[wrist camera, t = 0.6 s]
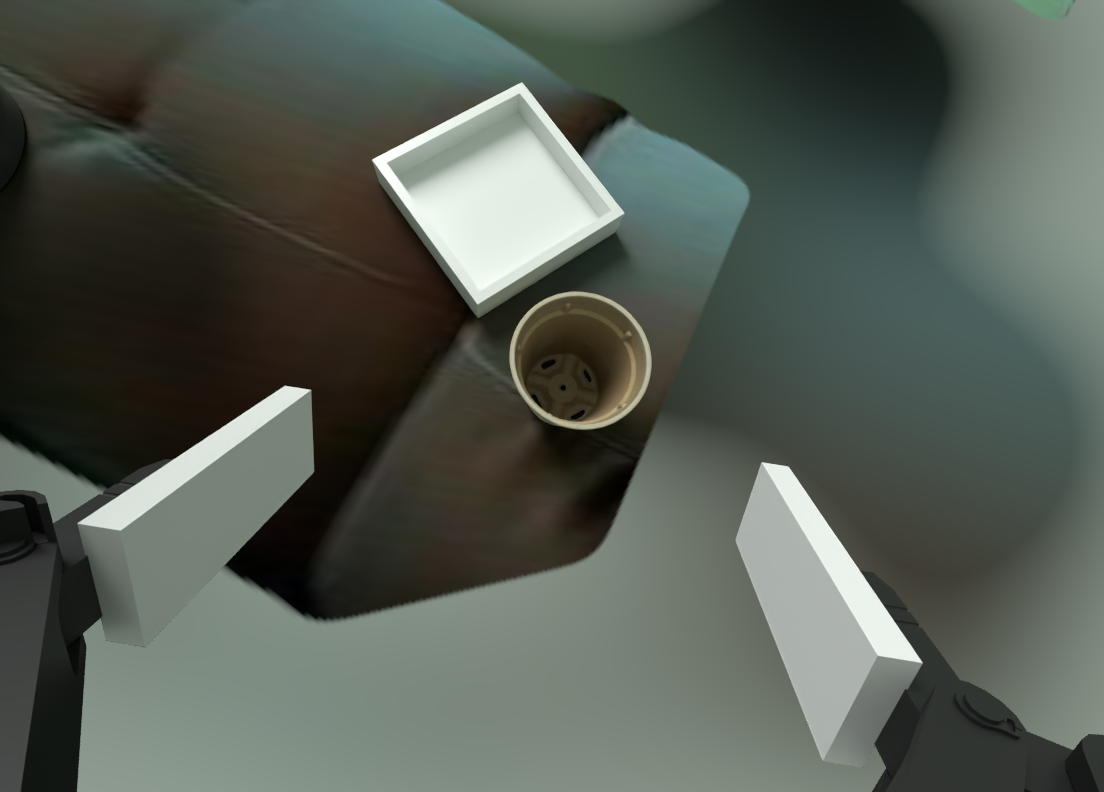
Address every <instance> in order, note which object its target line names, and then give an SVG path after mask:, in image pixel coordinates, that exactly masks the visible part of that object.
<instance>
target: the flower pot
mask: <svg viewBox="0 0 1104 792" xmlns="http://www.w3.org/2000/svg"><path fill="white" fill-rule="evenodd" d="M550 360H555V362H556V363H555V364H554V365H551V366H549V367H547V368H546V369H543V368H542V364H543V363H544V362H547V361H550ZM651 366H652V363H651V352H650V348H649V344H648V341H647V339H646V336H645V334H644V332H643V330H642V328H641V326H640V325H639V324H638V323H637V321H636V320H635V319H634V318H633V317H632V316H631V314H630V313H628V312H627V311H626V310H625V309H624V308H623V307H621V306H620V305H618V304H617V303H615V302H614V301H612V300H610V299H608V298H605V297H603V296H600V295H597V294H592V293H587V292H566V293H561V294H557V295H554V296H551V297H549V298H547V299H544V300H543V301H541V302H539V303H538V304H536V305H535V306H534V307H533V308H531V309H530V310H529V311H528V312H527V313H526V315H525V316H524V317H523V318H522V320H521V321H520V322H519V324H518V326H517V328H516V330H515V332H514V335H513V338H512V341H511V346H510V368H511V373H512V377H513V380H514V382H515V385H516V387H517V389H518V391H519V393H520V395H521V396H522V397H523V399H524V400H525V402H526V403H527V404H528V405H529V407H530V408H531V410H532V411H533V412H534V414H535V415H536V416H538V417H539V418H540V419H541V420H543V421H545V422H547V423H549V424H551V425H555V426H561V427H565V428H570V429H577V430H589V429H597V428H601V427H605V426H608V425H610V424H613V423H615V422H616V421H618V420H620V419H622V418H623V417H624V416H626V415H627V414H628V413H629V412H630V411H632V410H633V409H634V407H635V406H636V405H637V404H638V403H639V401H640V400H641V398H642V397H643V395H644V393H645V391H646V389H647V386H648V383H649V379H650V375H651ZM584 370H586V372H587V373H588V374H589V376H590V378H591V382H588V380H587V378H585V375H584V373H583V372H584ZM562 385H564V386H565V387H566V389H565V390H561V386H562ZM533 394H534V395H536V396H537V399H538V401H539V403H540V404H541V406H542V408H540V407H539V406H538V405H537V404H536V403H535V402H534V400H533V399H532V398H531V396H532V395H533ZM581 410H584V411H585V413H584V415H583V416H582V417H580V418H578V419H576V420H572V419H571V416H572V415H574V414H576V413H578V412H580V411H581Z"/></svg>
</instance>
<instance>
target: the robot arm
mask: <svg viewBox="0 0 1104 792" xmlns="http://www.w3.org/2000/svg"><path fill="white" fill-rule="evenodd" d="M24 141H25V129H24V122H23V118H22V115H21V112H20V110H19V108H18V106H17V104H16V102H15V101H14V99H13V98H12V96H11V95H10V94H9V93H8V92H7V90H6V89H5V88H4V87H2V86H1V85H0V190H1V189H2V188H3V187H4V186H5V184H6V183H7V182H8V181H9V179H10V178H11V176H12V175H13V173H14V171H15V170H16V168H17V166H18V163H19V161H20V159H21V156H22V152H23V148H24ZM313 472H314V456H313V430H312V403H311V390H308V389H302V388H295V387H289V386H284V387H283V388H281V389H280V390H278V391H276V392H275V393H273V394H272V395H270V396H269V397H267V398H266V399H264V400H263V401H261V402H260V403H258V404H257V405H255V406H254V407H252V408H251V409H249V410H248V411H246V412H245V413H243V414H242V415H240V416H239V417H237V418H236V419H234V420H233V421H231V422H230V423H228V424H227V425H225V426H224V427H222V428H221V429H219V430H218V431H216V432H215V433H213V434H212V435H210V436H209V437H207V438H206V439H204V440H203V441H201V442H200V443H198V444H196V445H195V446H193V447H192V448H190V449H189V450H187V451H186V452H184V453H183V454H181V455H180V456H178V457H177V458H175V459H174V460H170V459H164V460H162V461H159V462H156V463H154V464H151V465H148V466H146V467H143V468H140V469H139V470H137V471H135V472H134V473H132V474H131V475H129V476H128V477H126V478H124V479H123V480H121V481H120V483H119V484H115V485H113V486H112V487H110V488H109V489H107V490H105V491H104V492H103V494H102V495H100V494H99V495H97V496H96V497H94V498H93V499H91V500H90V501H88V502H87V503H85V504H83V505H82V506H80V507H79V508H77V509H75V510H74V511H72V512H71V513H69V514H67V515H66V516H65V517H63V518H61V519H60V520H58V521H56V522H55V523H53V522H52V518H51V514H50V510H49V507H48V503H47V500H46V497H45V496H44V495H42V494H40V493H38V492H35V491H25V490H15V491H4V492H0V792H77V781H78V765H79V750H80V735H81V719H82V705H83V690H84V689H83V688H84V675H85V659H86V644H85V640H84V636H83V633H84V632H85V631H86V630H87V629H88V628H90V627H91V626H92V625H93V624H94V623H95V622H96V621H97V620H99V618H101V621H102V625H103V629H104V633H105V637H106V641H111V642H117V643H122V644H129V645H134V646H141V647H146V646H147V645H148V644H149V643H150V642H151V641H152V640H153V639H154V638H155V637H156V636H157V635H158V634H159V632H161V630H162V629H163V628H164V627H165V626H166V625H167V624H168V623H169V622H170V621H171V620H172V619H173V618H174V617H175V616H176V615H177V614H178V613H179V612H180V611H181V610H182V609H183V608H184V606H186V604H187V603H188V602H189V601H190V600H191V599H192V598H193V597H194V596H195V595H196V594H197V593H198V592H199V591H200V590H201V589H202V588H203V587H204V586H205V585H206V584H207V583H208V582H209V581H210V580H211V578H212V577H213V576H214V575H215V574H216V573H217V572H218V571H219V570H220V569H221V568H222V567H223V566H224V565H225V564H226V563H227V562H228V561H229V560H230V559H231V558H232V557H233V556H234V555H235V554H236V553H237V551H238V550H239V549H240V548H241V547H242V546H243V545H244V544H245V543H246V542H247V541H248V540H249V539H250V538H251V537H252V536H253V535H254V534H255V533H256V532H257V531H258V530H259V529H260V528H261V527H262V525H263V524H264V523H265V522H266V521H267V520H268V519H269V518H270V517H271V516H272V515H273V514H274V513H275V512H276V511H277V510H278V509H279V508H280V507H281V506H282V505H283V504H284V503H285V502H286V501H287V499H288V498H289V497H290V496H291V495H292V494H293V493H294V492H295V491H296V490H297V489H298V488H299V487H300V486H301V485H302V484H303V483H304V482H305V481H306V480H307V479H308V478H309V477H310V476H311V475H312V474H313ZM736 543H737V546H738V548H739V551H740V553H741V556H742V558H743V561H744V563H745V566H746V569H747V571H748V574H749V576H750V579H751V581H752V584H753V586H754V588H755V591H756V594H757V596H758V599H759V601H760V604H761V606H762V609H763V611H764V614H765V617H766V619H767V622H768V624H769V626H770V629H771V632H772V634H773V637H774V639H775V642H776V644H777V647H778V649H779V652H780V654H781V657H782V659H783V662H784V664H785V667H786V670H787V672H788V675H789V677H790V680H791V682H792V685H793V687H794V690H795V692H796V695H797V697H798V700H799V702H800V705H801V707H802V710H803V712H804V715H805V717H806V720H807V723H808V725H809V728H810V730H811V733H812V735H813V738H814V740H815V743H816V745H817V748H818V750H819V753H820V755H821V758H822V760H823V761H825V762H832V763H837V764H843V765H849V766H855V767H861V768H863V767H864V765H865V764H866V762H867V760H868V758H869V756H870V755H871V753H872V751H873V749H874V748H875V746H876V748H877V750H878V752H879V754H880V756H881V758H882V760H883V762H884V764H885V766H886V769H885V771H884V773H883V774H882V776H881V778H880V779H879V781H878V783H877V784H876V786H875V788H874V789H873V791H872V792H1104V735H1094V734H1088V735H1087V736H1086V737H1085V738H1083V739H1082V740H1081V741H1080V743H1079V744H1078V745H1077V746H1076V748H1075V749H1074V750H1071V749H1069V748H1066V747H1064V746H1061V745H1059V744H1056V743H1054V742H1051V741H1049V740H1046V739H1044V738H1042V737H1039V736H1037V735H1034V734H1031V733H1029V732H1027V731H1026V729H1025V728H1024V727H1023V725H1022V724H1021V722H1020V721H1019V719H1018V718H1017V716H1016V715H1015V714H1014V713H1013V712H1012V711H1011V710H1009V708H1007V707H1006V706H1005V705H1004V704H1003V703H1002V702H1001V701H1000V700H998V699H997V698H995V697H994V696H992V695H991V694H989V693H988V692H987V691H985V690H983V689H981V688H979V687H977V686H975V685H973V684H971V683H969V682H965V681H961V680H960V679H959V678H958V677H957V675H956V674H955V672H954V671H953V670H952V668H951V667H950V666H949V664H948V663H947V662H946V660H945V659H944V657H943V656H942V655H941V653H940V652H939V651H938V649H937V648H936V647H935V645H934V644H933V642H932V641H931V640H930V639H929V637H928V636H927V634H926V633H925V632H924V630H923V629H922V628H920V627H919V624H918V622H917V621H916V619H915V618H914V617H913V616H912V614H911V613H910V612H908V611H907V607H906V606H905V604H904V603H903V602H902V600H901V599H900V598H899V596H898V595H897V594H896V592H895V591H894V590H893V589H892V588H891V587H890V586H888V585H887V584H886V583H885V582H884V581H882V580H881V579H880V578H879V577H878V576H876V575H875V574H874V573H872V572H865V571H860V570H859V569H858V568H857V566H856V565H855V563H854V562H853V560H852V559H851V558H850V556H849V555H848V553H847V552H846V550H845V549H844V547H843V546H842V544H841V543H840V541H839V540H838V538H837V537H836V536H835V534H834V533H833V531H832V530H831V528H830V527H829V525H828V524H827V522H826V521H825V519H824V518H823V517H822V515H821V514H820V512H819V511H818V509H817V508H816V506H815V505H814V503H813V502H812V500H811V499H810V497H809V496H808V495H807V493H806V492H805V490H804V489H803V487H802V486H801V485H800V483H799V482H798V480H797V478H796V477H795V476H794V474H793V473H792V471H791V470H790V468H789V467H787V466H781V465H775V464H768V463H762V464H761V467H760V469H759V472H758V475H757V478H756V481H755V484H754V487H753V490H752V493H751V496H750V499H749V502H748V505H747V508H746V511H745V514H744V517H743V519H742V522H741V525H740V528H739V531H738V534H737V537H736Z"/></svg>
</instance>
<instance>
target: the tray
mask: <svg viewBox="0 0 1104 792" xmlns="http://www.w3.org/2000/svg"><path fill="white" fill-rule="evenodd" d="M372 161H373V164H374V167H375V170H376V174H377V177H378V180H379V183H380V184H381V186H382V187H383V188H384V190H385V191H386V193H387V194H388V195H389V197H390V198H391V199H392V201H393V202H394V204H395V205H396V206H397V208H398V209H399V210H400V212H401V213H402V215H403V216H404V217H405V219H406V220H407V221H408V223H409V224H410V226H411V227H412V228H413V230H414V231H415V232H416V234H417V235H418V237H419V238H420V239H421V241H422V242H423V243H424V245H425V246H426V248H427V249H428V250H429V252H430V253H431V255H432V256H433V257H434V259H435V260H436V261H437V263H438V264H439V266H440V267H441V268H442V270H443V271H444V272H445V274H446V275H447V277H448V278H449V279H450V281H451V282H452V283H453V285H454V286H455V288H456V289H457V290H458V292H459V293H460V294H461V296H462V297H463V299H464V300H465V301H466V303H467V304H468V305H469V307H470V308H471V310H472V311H473V312H474V314H475V315H476V317H477V318H480V317H481V316H483V315H484V314H486V313H488V312H489V311H491V310H492V309H494V308H496V307H497V306H499V305H500V304H502V303H504V302H505V301H507V300H508V299H510V298H512V297H513V296H515V295H516V294H518V293H519V292H521V291H523V290H524V289H526V288H527V287H529V286H531V285H532V284H534V283H535V282H537V281H539V280H540V279H542V278H543V277H545V276H547V275H548V274H550V273H551V272H553V271H555V270H556V269H558V268H559V267H561V266H563V265H564V264H566V263H567V262H569V261H570V260H572V259H574V258H575V257H577V256H578V255H580V254H582V253H583V252H585V251H586V250H588V249H590V248H591V247H593V246H594V245H596V244H598V243H599V242H601V241H602V240H604V239H606V238H607V237H609V236H610V235H612V234H614V233H615V232H616V231H617V228H618V226H619V224H620V222H621V220H622V218H623V216H624V212H623V211H622V209H621V208H620V207H619V206H618V204H617V203H616V202H615V201H614V199H613V198H612V197H611V195H610V194H609V193H608V192H607V190H606V189H605V188H604V186H603V185H602V184H601V183H600V181H599V180H598V179H597V178H596V176H595V175H594V174H593V172H592V171H591V170H590V169H589V167H588V166H587V165H586V163H585V162H584V161H583V160H582V158H581V157H580V156H579V155H578V153H577V152H576V151H575V149H574V148H573V147H572V146H571V144H570V143H569V142H568V140H567V139H566V138H565V137H564V135H563V134H562V133H561V132H560V130H559V129H558V128H557V126H556V125H555V124H554V123H553V121H552V120H551V119H550V117H549V116H548V115H547V114H546V112H545V111H544V110H543V109H542V107H541V106H540V105H539V103H538V102H537V101H536V100H535V98H534V97H533V96H532V94H531V93H530V92H529V91H528V89H527V88H526V87H525V86H524V84H523V83H520V84H518V85H516V86H514V87H512V88H510V89H508V90H506V91H504V92H502V93H500V94H498V95H496V96H494V97H493V98H491V99H489V100H487V101H485V102H483V103H481V104H479V105H477V106H475V107H473V108H471V109H469V110H467V111H465V112H463V113H462V114H460V115H458V116H456V117H454V118H452V119H450V120H448V121H446V122H444V123H442V124H440V125H438V126H436V127H434V128H433V129H431V130H429V131H427V132H425V133H423V134H421V135H419V136H417V137H415V138H413V139H411V140H409V141H407V142H405V143H404V144H402V145H400V146H398V147H396V148H394V149H392V150H390V151H388V152H386V153H384V154H382V155H380V156H378V157H376V158H375V159H373V160H372Z"/></svg>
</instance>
